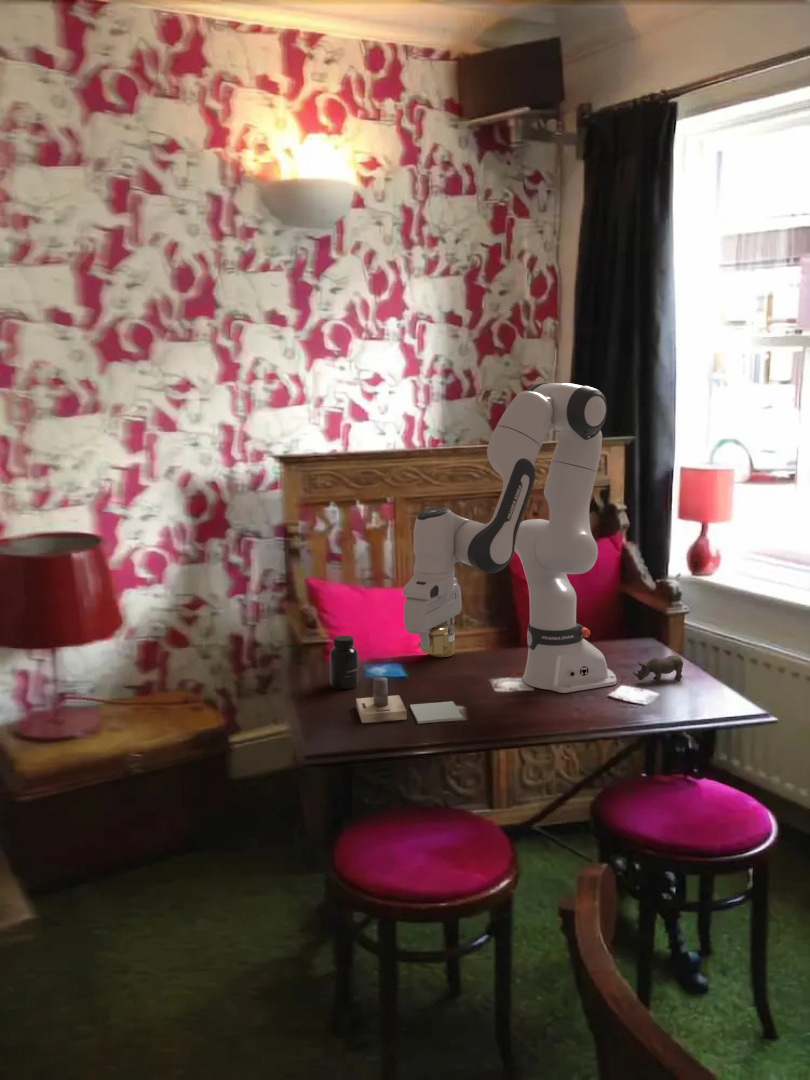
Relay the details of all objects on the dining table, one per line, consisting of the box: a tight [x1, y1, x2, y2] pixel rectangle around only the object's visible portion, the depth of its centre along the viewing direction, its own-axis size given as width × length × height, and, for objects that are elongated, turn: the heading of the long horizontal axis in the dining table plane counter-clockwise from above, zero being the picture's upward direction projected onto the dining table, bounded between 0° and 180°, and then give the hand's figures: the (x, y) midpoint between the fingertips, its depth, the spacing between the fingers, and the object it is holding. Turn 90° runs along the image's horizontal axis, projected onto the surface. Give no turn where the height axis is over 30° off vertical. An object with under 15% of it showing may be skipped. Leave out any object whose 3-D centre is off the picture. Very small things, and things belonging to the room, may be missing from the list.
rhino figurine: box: [632, 655, 684, 684], centre depth 246 cm, size 4×14×6 cm, turn 105°
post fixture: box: [355, 676, 408, 724], centre depth 228 cm, size 10×10×8 cm
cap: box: [417, 624, 451, 656], centre depth 224 cm, size 6×7×6 cm
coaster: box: [409, 700, 464, 725], centre depth 228 cm, size 10×10×1 cm
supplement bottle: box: [329, 635, 359, 690], centre depth 246 cm, size 7×7×12 cm
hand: (434, 643), depth 224 cm, fingers closed on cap, 6 cm apart
